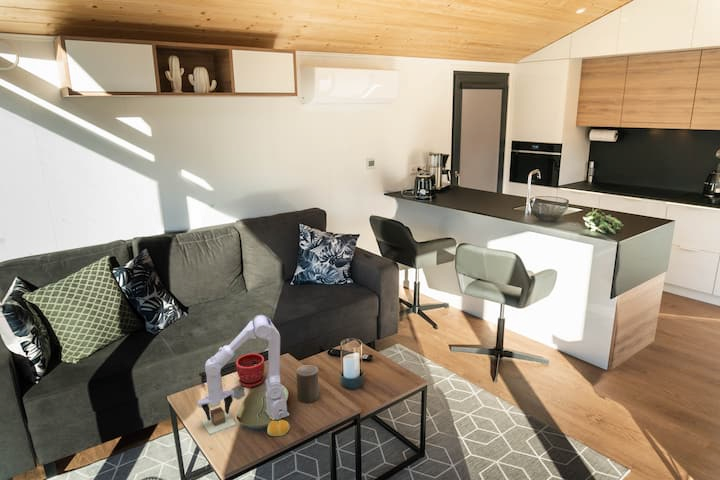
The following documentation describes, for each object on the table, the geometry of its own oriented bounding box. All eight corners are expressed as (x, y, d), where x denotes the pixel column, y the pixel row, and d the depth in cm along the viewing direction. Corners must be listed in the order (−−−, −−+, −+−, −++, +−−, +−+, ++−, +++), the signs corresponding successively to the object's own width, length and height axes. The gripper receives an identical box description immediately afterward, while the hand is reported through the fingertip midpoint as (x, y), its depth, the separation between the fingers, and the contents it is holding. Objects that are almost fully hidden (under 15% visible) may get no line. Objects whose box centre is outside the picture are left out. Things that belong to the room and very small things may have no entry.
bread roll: (290, 435, 197) (289, 426, 196) (267, 438, 195) (266, 429, 194) (289, 422, 204) (288, 414, 203) (267, 425, 203) (266, 417, 202)
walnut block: (225, 422, 204) (224, 411, 203) (214, 426, 202) (213, 415, 200) (221, 417, 208) (220, 406, 207) (211, 421, 205) (210, 410, 204)
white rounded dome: (221, 404, 218) (220, 394, 216) (210, 408, 215) (209, 398, 214) (218, 399, 222) (216, 389, 220) (207, 403, 219) (205, 393, 218)
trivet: (236, 425, 203) (236, 423, 203) (209, 435, 197) (209, 433, 197) (227, 412, 212) (227, 411, 212) (201, 421, 206) (201, 420, 206)
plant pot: (232, 382, 236) (230, 359, 232) (256, 372, 244) (255, 350, 241) (246, 393, 226) (244, 369, 223) (271, 382, 235) (269, 359, 231)
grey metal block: (244, 395, 224) (244, 387, 223) (238, 399, 221) (237, 391, 220) (239, 392, 227) (238, 385, 226) (232, 397, 224) (231, 389, 222)
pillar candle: (304, 406, 215) (303, 375, 212) (293, 396, 223) (292, 366, 219) (323, 398, 221) (322, 368, 217) (311, 389, 229) (310, 359, 225)
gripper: (228, 377, 207) (231, 405, 211) (194, 388, 200) (197, 417, 203) (234, 384, 202) (237, 413, 205) (199, 396, 194) (202, 426, 198)
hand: (218, 416), depth 204 cm, fingers open, 7 cm apart
